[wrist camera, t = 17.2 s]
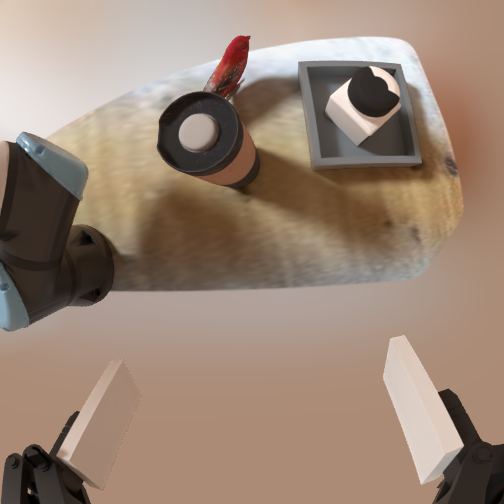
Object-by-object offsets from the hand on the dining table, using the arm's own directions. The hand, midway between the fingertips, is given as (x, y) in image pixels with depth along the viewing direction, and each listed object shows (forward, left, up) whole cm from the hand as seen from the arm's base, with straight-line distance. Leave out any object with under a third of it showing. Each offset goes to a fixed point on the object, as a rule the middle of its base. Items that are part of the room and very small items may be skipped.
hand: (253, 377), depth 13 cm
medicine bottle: (+14, +21, -30) cm, 39 cm away
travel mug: (-5, +15, -31) cm, 35 cm away
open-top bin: (+14, +21, -31) cm, 40 cm away
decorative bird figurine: (-6, +26, -31) cm, 41 cm away
